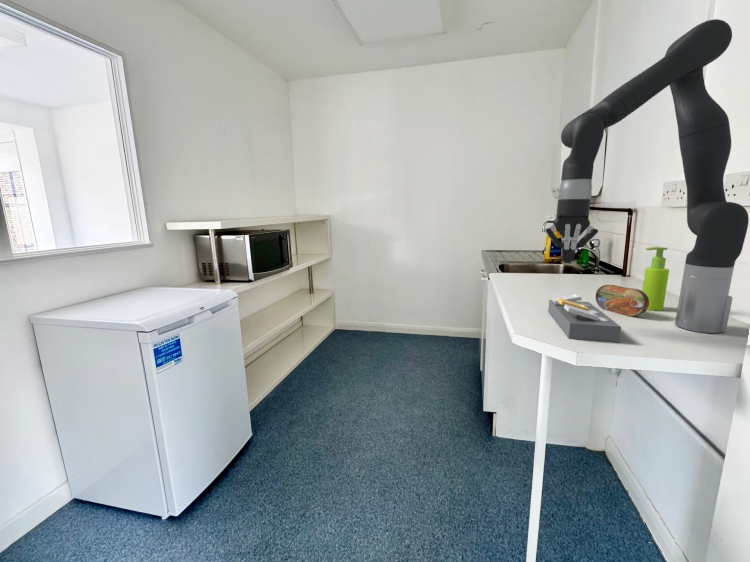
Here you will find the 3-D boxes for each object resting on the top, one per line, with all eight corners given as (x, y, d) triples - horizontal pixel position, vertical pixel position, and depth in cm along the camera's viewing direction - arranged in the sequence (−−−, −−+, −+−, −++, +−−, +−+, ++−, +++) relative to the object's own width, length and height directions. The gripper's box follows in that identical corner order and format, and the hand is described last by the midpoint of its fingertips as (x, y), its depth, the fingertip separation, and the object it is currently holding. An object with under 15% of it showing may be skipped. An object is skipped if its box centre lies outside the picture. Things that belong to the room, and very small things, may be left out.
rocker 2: (583, 308, 96) (584, 305, 96) (587, 312, 93) (589, 309, 92) (557, 301, 98) (558, 297, 98) (560, 304, 94) (562, 301, 94)
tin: (593, 307, 114) (596, 282, 112) (600, 306, 115) (603, 281, 113) (641, 319, 100) (645, 291, 99) (648, 318, 101) (653, 290, 100)
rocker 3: (591, 315, 90) (593, 312, 90) (596, 320, 86) (598, 316, 86) (563, 307, 91) (565, 303, 91) (567, 311, 87) (569, 307, 87)
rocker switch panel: (587, 314, 106) (588, 299, 105) (618, 342, 83) (621, 323, 82) (548, 312, 108) (549, 297, 108) (568, 338, 86) (570, 320, 85)
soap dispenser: (632, 306, 114) (640, 246, 110) (653, 306, 114) (662, 246, 110) (645, 311, 109) (654, 248, 105) (667, 311, 108) (678, 248, 104)
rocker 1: (577, 296, 103) (577, 293, 102) (581, 300, 99) (581, 296, 99) (552, 301, 105) (551, 297, 105) (555, 304, 101) (554, 301, 101)
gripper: (597, 198, 92) (589, 262, 95) (544, 198, 95) (538, 260, 99) (608, 197, 85) (599, 266, 88) (549, 197, 88) (543, 264, 92)
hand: (566, 263), depth 94 cm, fingers closed
